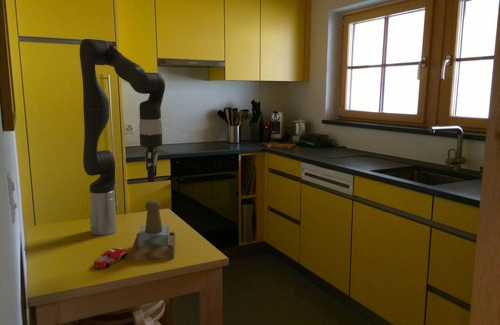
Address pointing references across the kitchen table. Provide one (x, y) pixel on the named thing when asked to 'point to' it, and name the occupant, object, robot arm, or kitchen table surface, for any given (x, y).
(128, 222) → the kitchen table surface
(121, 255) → the race car
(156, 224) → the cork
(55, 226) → the kitchen table surface
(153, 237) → the knobbed square tray
